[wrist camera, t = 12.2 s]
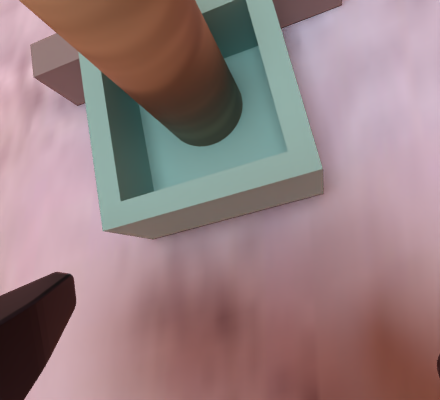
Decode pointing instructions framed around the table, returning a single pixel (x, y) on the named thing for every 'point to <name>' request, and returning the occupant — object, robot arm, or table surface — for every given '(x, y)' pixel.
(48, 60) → the backstop wall
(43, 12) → the dowel
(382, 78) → the table surface
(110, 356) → the table surface
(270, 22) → the socket block
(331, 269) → the table surface
